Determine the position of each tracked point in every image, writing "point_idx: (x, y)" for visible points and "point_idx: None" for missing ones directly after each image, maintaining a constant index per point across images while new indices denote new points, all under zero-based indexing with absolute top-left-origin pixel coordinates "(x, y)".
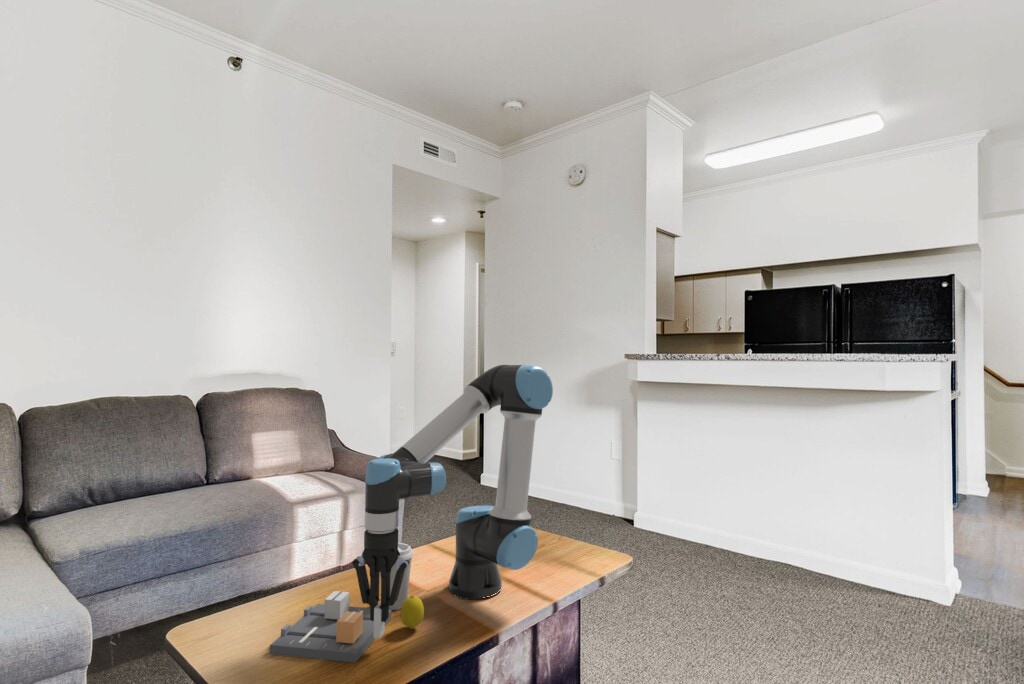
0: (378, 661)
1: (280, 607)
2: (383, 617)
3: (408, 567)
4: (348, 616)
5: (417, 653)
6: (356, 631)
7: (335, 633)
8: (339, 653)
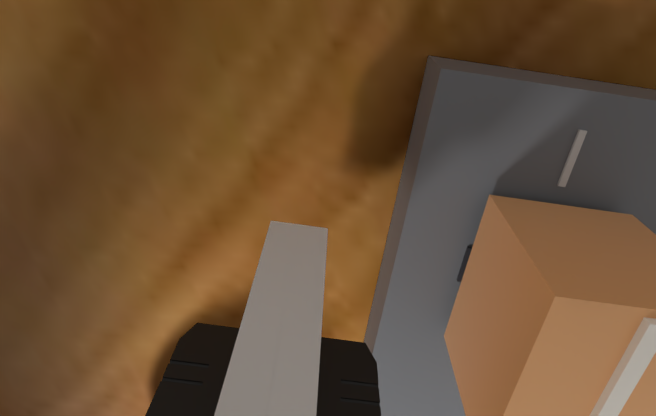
0: (265, 81)
1: None
2: (208, 359)
3: None
4: (624, 410)
5: (38, 187)
6: (491, 282)
7: None
8: (580, 85)
